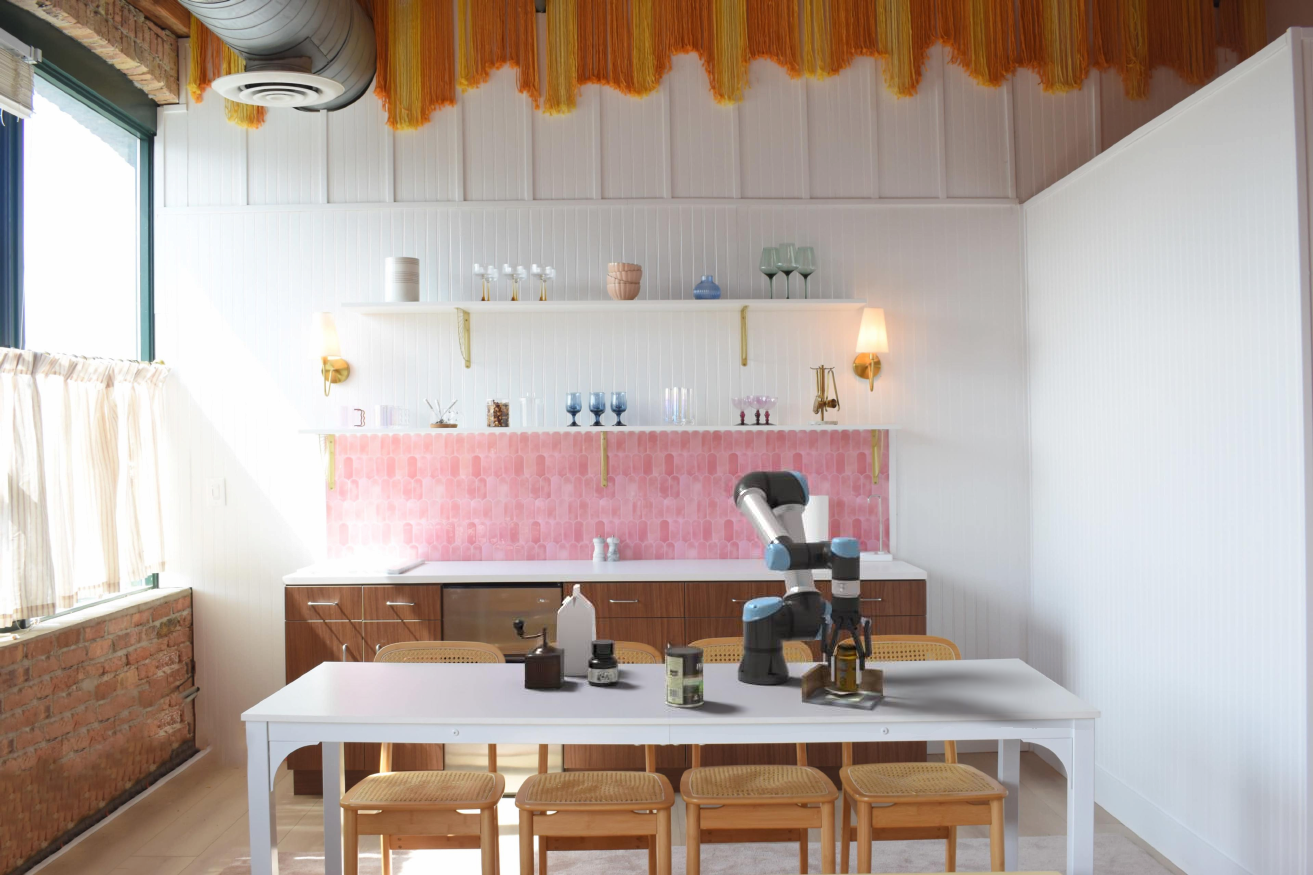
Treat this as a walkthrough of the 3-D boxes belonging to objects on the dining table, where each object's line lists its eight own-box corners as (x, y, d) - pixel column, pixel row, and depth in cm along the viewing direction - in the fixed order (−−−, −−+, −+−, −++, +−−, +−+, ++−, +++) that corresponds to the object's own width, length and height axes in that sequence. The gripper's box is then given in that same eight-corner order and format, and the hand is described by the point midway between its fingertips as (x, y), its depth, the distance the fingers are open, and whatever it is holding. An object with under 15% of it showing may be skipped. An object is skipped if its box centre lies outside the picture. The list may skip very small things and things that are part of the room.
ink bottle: (585, 687, 262) (584, 644, 262) (587, 679, 271) (587, 638, 271) (619, 687, 262) (619, 644, 262) (620, 679, 271) (620, 638, 271)
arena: (801, 702, 245) (801, 675, 245) (819, 688, 259) (818, 663, 259) (869, 710, 237) (869, 682, 237) (883, 695, 251) (882, 669, 251)
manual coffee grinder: (565, 679, 271) (565, 618, 271) (560, 689, 260) (560, 625, 260) (513, 679, 272) (513, 617, 272) (505, 688, 261) (505, 624, 261)
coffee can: (705, 698, 249) (705, 646, 249) (701, 708, 239) (700, 654, 239) (668, 696, 251) (668, 644, 251) (662, 707, 241) (661, 652, 241)
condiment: (865, 690, 247) (865, 646, 247) (841, 695, 243) (840, 649, 243) (846, 685, 253) (846, 641, 253) (823, 689, 249) (822, 644, 249)
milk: (593, 675, 276) (593, 588, 276) (555, 675, 276) (555, 588, 276) (597, 666, 288) (597, 583, 288) (560, 666, 288) (560, 583, 288)
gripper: (807, 594, 249) (808, 680, 249) (878, 599, 241) (878, 688, 240) (815, 591, 256) (816, 674, 255) (884, 595, 247) (885, 681, 247)
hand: (846, 681), depth 248 cm, fingers closed on condiment, 6 cm apart
